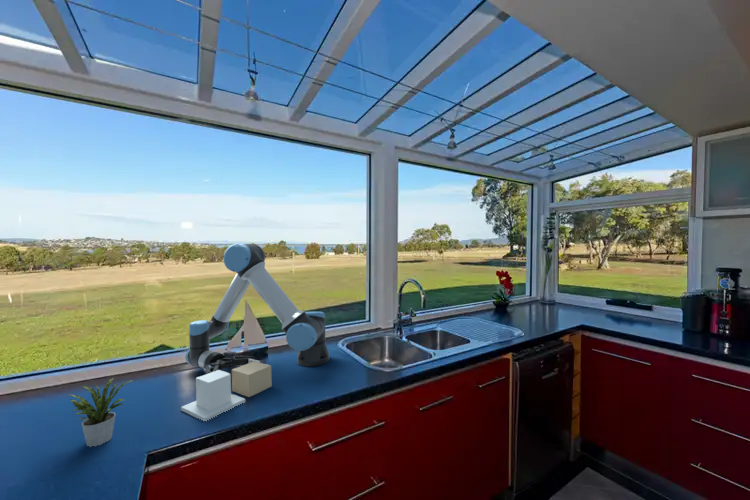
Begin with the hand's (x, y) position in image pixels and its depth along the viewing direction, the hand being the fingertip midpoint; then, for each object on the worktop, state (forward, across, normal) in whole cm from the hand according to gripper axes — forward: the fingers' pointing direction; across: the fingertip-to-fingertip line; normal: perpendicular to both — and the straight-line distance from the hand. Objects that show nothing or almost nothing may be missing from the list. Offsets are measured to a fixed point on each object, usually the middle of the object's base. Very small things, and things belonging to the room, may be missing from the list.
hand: (244, 370), depth 118 cm
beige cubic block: (+4, 0, -6) cm, 7 cm away
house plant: (-6, +40, -6) cm, 42 cm away
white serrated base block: (+4, +15, -6) cm, 16 cm away
